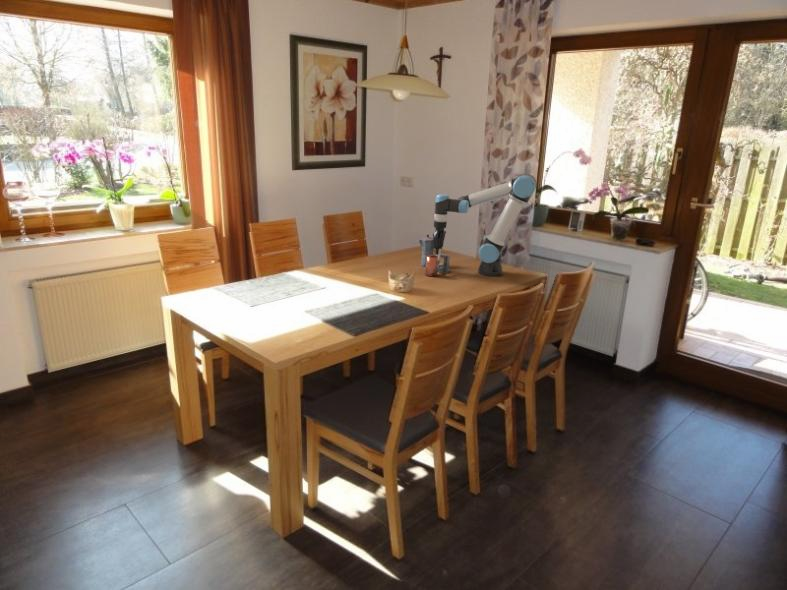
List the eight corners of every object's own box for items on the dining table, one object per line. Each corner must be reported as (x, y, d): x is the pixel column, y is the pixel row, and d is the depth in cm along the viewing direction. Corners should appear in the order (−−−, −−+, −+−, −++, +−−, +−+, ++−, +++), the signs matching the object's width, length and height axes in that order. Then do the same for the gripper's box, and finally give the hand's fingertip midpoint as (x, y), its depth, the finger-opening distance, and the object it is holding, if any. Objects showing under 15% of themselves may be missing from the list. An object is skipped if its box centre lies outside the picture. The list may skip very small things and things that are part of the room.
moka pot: (413, 264, 355) (415, 233, 349) (434, 262, 361) (436, 232, 355) (420, 268, 347) (422, 236, 341) (442, 266, 353) (444, 235, 347)
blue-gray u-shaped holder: (450, 271, 342) (451, 254, 338) (445, 273, 337) (447, 256, 334) (436, 268, 347) (437, 252, 343) (431, 270, 342) (432, 253, 339)
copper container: (449, 269, 344) (451, 251, 340) (433, 276, 327) (434, 257, 323) (439, 267, 348) (441, 249, 344) (423, 274, 330) (424, 255, 327)
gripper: (439, 218, 335) (437, 256, 342) (429, 221, 325) (426, 260, 332) (451, 220, 331) (447, 258, 339) (440, 223, 321) (437, 262, 328)
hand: (437, 259), depth 335 cm, fingers closed
